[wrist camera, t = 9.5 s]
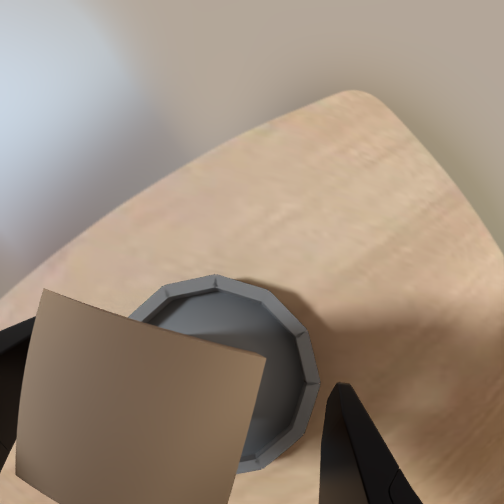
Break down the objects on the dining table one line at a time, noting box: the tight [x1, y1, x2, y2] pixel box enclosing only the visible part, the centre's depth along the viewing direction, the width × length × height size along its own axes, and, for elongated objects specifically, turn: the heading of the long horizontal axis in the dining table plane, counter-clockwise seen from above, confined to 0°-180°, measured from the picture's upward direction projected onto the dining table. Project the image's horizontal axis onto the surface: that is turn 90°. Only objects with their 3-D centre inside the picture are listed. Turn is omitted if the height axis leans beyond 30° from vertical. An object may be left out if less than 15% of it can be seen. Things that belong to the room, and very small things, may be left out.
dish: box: [128, 274, 321, 474], centre depth 16 cm, size 11×11×2 cm
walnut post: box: [16, 289, 266, 504], centre depth 10 cm, size 4×4×13 cm
